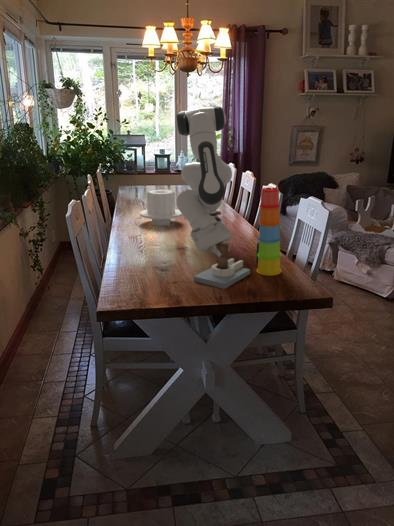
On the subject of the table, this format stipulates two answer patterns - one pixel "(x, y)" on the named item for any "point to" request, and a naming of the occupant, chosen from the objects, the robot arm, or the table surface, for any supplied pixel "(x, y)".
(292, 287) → the table surface
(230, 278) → the keyhole board
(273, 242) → the stacking cups
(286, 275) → the table surface
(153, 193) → the cake on stand
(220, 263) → the walnut dowel
